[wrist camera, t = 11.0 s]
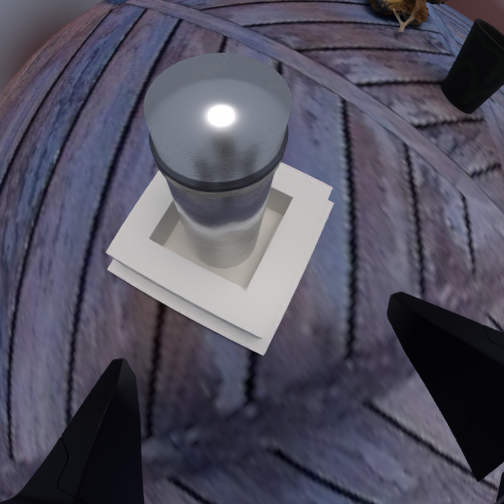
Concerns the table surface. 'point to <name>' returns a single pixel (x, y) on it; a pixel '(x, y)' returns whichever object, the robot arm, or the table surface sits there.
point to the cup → (476, 68)
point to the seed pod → (405, 10)
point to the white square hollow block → (225, 279)
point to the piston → (219, 148)
